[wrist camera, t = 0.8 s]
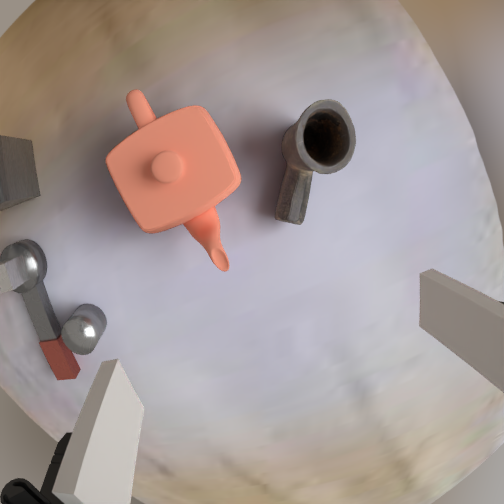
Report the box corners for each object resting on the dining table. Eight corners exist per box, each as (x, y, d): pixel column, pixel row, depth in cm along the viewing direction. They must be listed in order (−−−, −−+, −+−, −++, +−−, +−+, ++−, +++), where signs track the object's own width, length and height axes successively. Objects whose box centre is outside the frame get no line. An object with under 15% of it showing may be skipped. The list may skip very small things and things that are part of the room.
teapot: (190, 84, 30) (187, 48, 20) (264, 223, 35) (288, 241, 25) (101, 135, 30) (64, 120, 20) (175, 271, 35) (166, 307, 25)
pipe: (258, 214, 35) (274, 224, 27) (282, 106, 33) (304, 88, 25) (308, 225, 36) (336, 238, 29) (331, 122, 34) (363, 109, 26)
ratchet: (6, 245, 31) (-24, 258, 24) (39, 234, 31) (9, 246, 24) (55, 372, 35) (38, 400, 29) (88, 368, 36) (73, 399, 29)
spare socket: (70, 306, 34) (55, 323, 29) (99, 300, 34) (87, 317, 30) (83, 337, 35) (70, 356, 30) (111, 332, 35) (101, 352, 31)
